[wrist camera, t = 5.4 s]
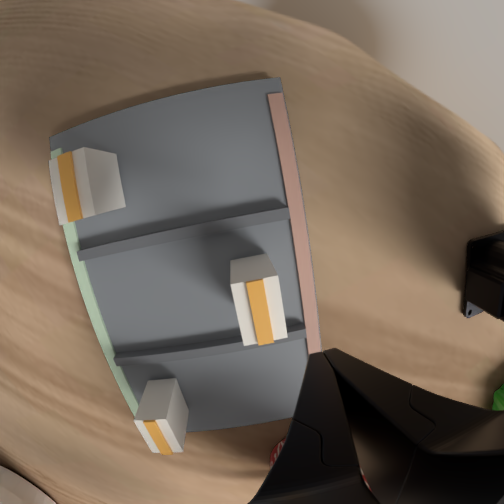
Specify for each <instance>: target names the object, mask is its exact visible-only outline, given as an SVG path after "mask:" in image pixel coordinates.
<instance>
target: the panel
mask: <svg viewBox="0 0 504 504" xmlns="http://www.w3.org/2000/svg"><path fill="white" fill-rule="evenodd" d="M49 140H50V149H51V152H50V153H51V160H52V159H54V158H57V156H59V155H61V154H64V153H66V152H69V151H71V152H72V151H74V150H77V149H80V148H83V147H86V148H91V149H96V150H101V151H105V152H110V153H114V154H116V155H117V161H118V167H119V173H120V178H121V184H122V189H123V194H124V199H125V204H126V207H124V208H120V209H116V210H112V211H109V212H105V213H101V214H98V215H94V216H90V217H87V218H83V219H80V220H76V221H73V222H70V223H66V224H63V228H64V233H65V237H66V241H67V245H68V249H69V253H70V256H71V260H72V264H73V267H74V271H75V274H76V277H77V281H78V284H79V287H80V290H81V293H82V296H83V299H84V302H85V305H86V308H87V311H88V314H89V317H90V319H91V322H92V325H93V327H94V330H95V333H96V335H97V338H98V340H99V343H100V345H101V348H102V350H103V352H104V355H105V357H106V359H107V362H108V364H109V366H110V368H111V371H112V373H113V375H114V377H115V379H116V381H117V383H118V386H119V388H120V390H121V392H122V394H123V396H124V398H125V400H126V402H127V404H128V406H129V407H130V409H131V411H132V413H133V415H134V417H135V415H136V412H137V409H138V407H139V404H140V401H141V398H142V395H143V393H144V390H145V387H146V385H147V382H148V381H149V380H160V379H170V378H176V379H177V382H178V384H179V387H180V390H181V392H182V395H183V397H184V399H185V402H186V404H187V407H188V409H189V414H188V421H187V428H186V432H198V431H208V430H218V429H226V428H234V427H241V426H248V425H254V424H260V423H266V422H271V421H276V420H281V419H286V418H291V417H293V414H294V411H295V407H296V403H297V400H298V396H299V392H300V388H301V384H302V381H303V377H304V373H305V369H306V364H307V360H308V356H309V354H311V353H316V352H322V349H321V337H320V327H319V317H318V307H317V298H316V289H315V280H314V272H313V264H312V256H311V249H310V242H309V234H308V227H307V221H306V214H305V207H304V201H303V195H302V188H301V182H300V176H299V171H298V165H297V159H296V154H295V148H294V143H293V138H292V132H291V127H290V122H289V117H288V112H287V107H286V102H285V98H284V93H283V88H282V84H281V79H280V77H278V78H269V79H260V80H253V81H245V82H239V83H232V84H226V85H220V86H215V87H210V88H205V89H200V90H195V91H190V92H186V93H181V94H177V95H173V96H169V97H165V98H161V99H157V100H153V101H150V102H146V103H143V104H139V105H136V106H133V107H129V108H126V109H123V110H120V111H117V112H114V113H111V114H108V115H105V116H102V117H99V118H96V119H94V120H91V121H88V122H86V123H83V124H80V125H78V126H75V127H73V128H70V129H68V130H65V131H63V132H61V133H58V134H56V135H54V136H51V137H49ZM266 253H267V254H268V256H269V258H270V260H271V262H272V264H273V266H274V268H275V270H276V272H277V274H278V278H279V284H280V290H281V297H282V303H283V309H284V316H285V322H286V329H287V336H288V338H283V339H278V340H274V343H270V344H264V345H258V344H252V345H247V346H244V344H243V340H242V335H241V331H240V326H239V322H238V317H237V313H236V308H235V304H234V299H233V294H232V290H231V285H230V260H235V259H240V258H245V257H250V256H256V255H261V254H266Z"/></svg>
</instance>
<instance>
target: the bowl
mask: <svg viewBox="0 0 504 504" xmlns="http://www.w3.org/2000/svg"><path fill="white" fill-rule="evenodd" d="M0 504H56V503H55V502H54V501H53V500H52V499H51V498H49V497H48V496H47V495H46V494H44V493H43V492H42V491H41V490H39V489H38V488H37V487H35V486H34V485H32V484H31V483H29V482H28V481H26V480H25V479H24V478H22V477H20V476H19V475H17V474H16V473H14V472H12V471H10V470H8V469H6V468H4V467H2V466H0Z"/></svg>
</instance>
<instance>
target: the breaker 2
mask: <svg viewBox="0 0 504 504" xmlns="http://www.w3.org/2000/svg"><path fill="white" fill-rule="evenodd" d="M188 414H189V409H188V407H187V404H186V402H185V399H184V397H183V395H182V392H181V390H180V387H179V384H178V382H177V379H176V378H170V379H160V380H149V381H148V382H147V385H146V387H145V390H144V393H143V395H142V398H141V401H140V404H139V407H138V409H137V412H136V415H135V418H134V422H135V424H136V426H137V427H138V429H139V431H140V433H141V434H142V436H143V438H144V439H145V441H146V443H147V444H148V446H149V448H150V449H151V451H152V452H153V453H161V454H162V455H173V452H183V449H184V442H185V435H186V428H187V421H188Z"/></svg>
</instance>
